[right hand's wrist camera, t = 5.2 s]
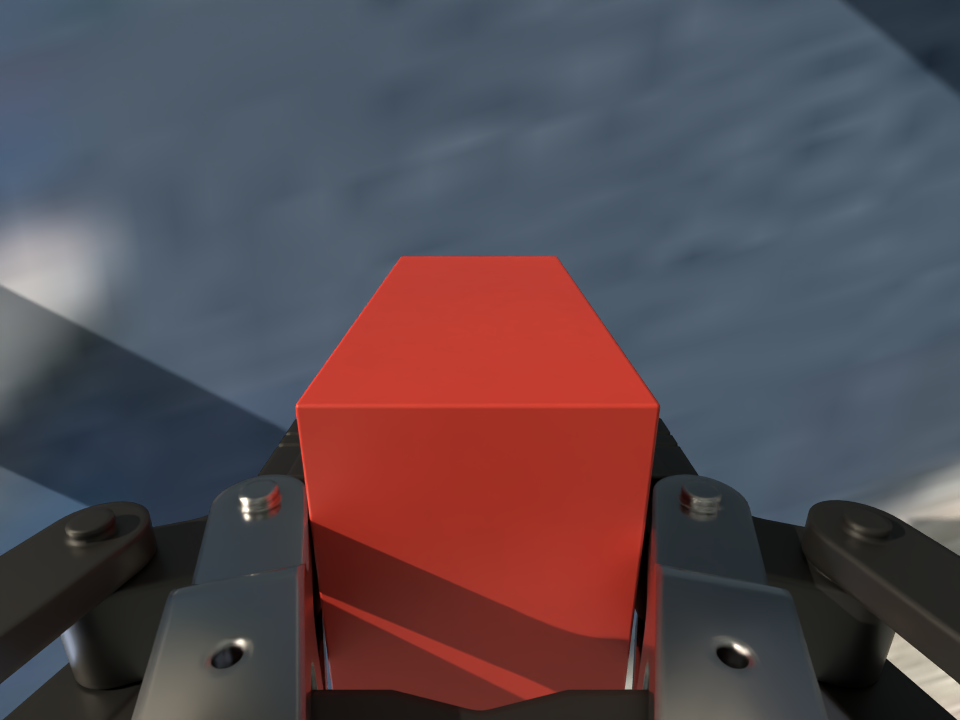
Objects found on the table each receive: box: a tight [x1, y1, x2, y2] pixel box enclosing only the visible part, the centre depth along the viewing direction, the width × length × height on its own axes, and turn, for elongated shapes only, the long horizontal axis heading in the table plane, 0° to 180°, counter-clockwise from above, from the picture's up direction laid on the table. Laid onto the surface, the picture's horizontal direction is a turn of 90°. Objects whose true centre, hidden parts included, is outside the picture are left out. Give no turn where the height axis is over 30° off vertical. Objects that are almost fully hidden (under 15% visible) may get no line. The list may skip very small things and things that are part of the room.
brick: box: [295, 256, 660, 710], centre depth 12 cm, size 4×6×9 cm
